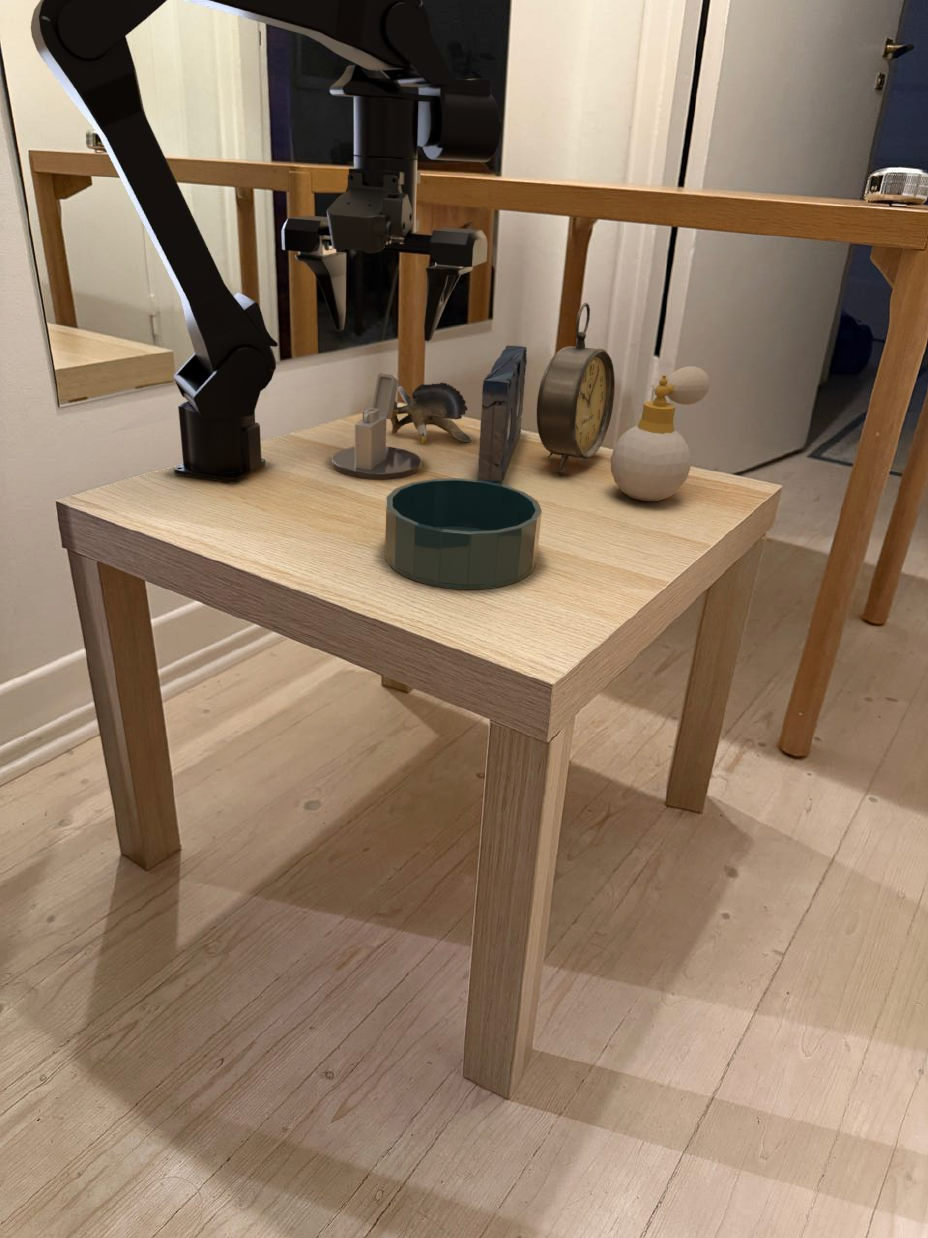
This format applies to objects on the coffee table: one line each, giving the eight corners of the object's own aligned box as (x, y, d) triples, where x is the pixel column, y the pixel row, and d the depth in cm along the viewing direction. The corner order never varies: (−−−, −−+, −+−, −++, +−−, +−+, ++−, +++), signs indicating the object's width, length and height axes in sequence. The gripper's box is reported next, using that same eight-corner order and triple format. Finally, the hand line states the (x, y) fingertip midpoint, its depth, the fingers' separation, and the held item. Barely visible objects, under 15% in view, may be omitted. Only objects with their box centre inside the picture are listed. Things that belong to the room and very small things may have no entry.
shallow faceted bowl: (362, 574, 68) (362, 518, 66) (412, 519, 79) (414, 470, 77) (517, 601, 66) (523, 544, 64) (547, 540, 77) (553, 490, 74)
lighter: (370, 470, 88) (371, 387, 85) (353, 467, 89) (354, 385, 85) (397, 450, 94) (398, 372, 91) (381, 448, 95) (382, 370, 91)
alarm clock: (569, 482, 90) (589, 312, 83) (521, 471, 93) (536, 304, 85) (609, 455, 99) (630, 300, 92) (564, 446, 101) (581, 293, 94)
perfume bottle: (596, 500, 86) (613, 372, 81) (623, 472, 94) (640, 354, 88) (674, 516, 84) (698, 385, 78) (695, 486, 92) (718, 366, 86)
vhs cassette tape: (499, 432, 105) (506, 343, 100) (524, 435, 104) (532, 346, 100) (471, 482, 89) (477, 379, 84) (501, 486, 88) (509, 382, 84)
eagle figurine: (384, 438, 96) (468, 428, 95) (379, 373, 97) (463, 362, 96) (397, 457, 103) (475, 448, 103) (392, 397, 104) (470, 388, 103)
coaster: (317, 471, 89) (317, 465, 89) (351, 446, 97) (351, 441, 96) (404, 484, 87) (405, 478, 87) (432, 457, 95) (432, 452, 94)
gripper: (248, 150, 77) (258, 339, 84) (459, 164, 73) (450, 361, 80) (305, 151, 87) (309, 320, 94) (494, 163, 82) (483, 340, 90)
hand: (383, 335), depth 89 cm, fingers open, 9 cm apart
